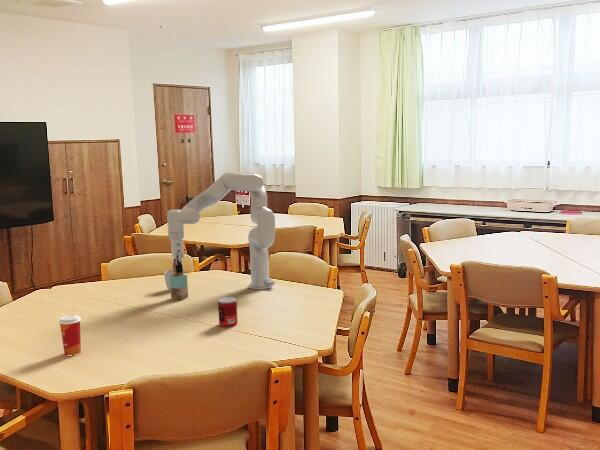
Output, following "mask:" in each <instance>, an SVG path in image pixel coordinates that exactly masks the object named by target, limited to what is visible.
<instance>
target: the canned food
mask: <svg viewBox="0 0 600 450" xmlns="http://www.w3.org/2000/svg"><path fill="white" fill-rule="evenodd" d="M217 309H218V324H219V326H220V327H222V328H232V327H236V325H238V301H237V297H234V296H226V297H221V298H219V299H218V300H217Z"/></svg>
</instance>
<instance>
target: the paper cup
mask: <svg viewBox="0 0 600 450" xmlns="http://www.w3.org/2000/svg"><path fill="white" fill-rule="evenodd" d="M81 320H82V318H81V317H80V315H78V314H72V315H65V316H62V317H60V318H59V321H58V324H59V326H60V334H61V339H62V347H63V351H64V356H65V355H75V354H78V353H80V354H81ZM78 355H79V354H78Z"/></svg>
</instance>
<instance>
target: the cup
mask: <svg viewBox="0 0 600 450" xmlns="http://www.w3.org/2000/svg"><path fill="white" fill-rule="evenodd" d="M163 273H164V274H163V275H164V280H165V286H166V288H167V290H168V292H171V288H172V287H170V275H173V269H169V270H165V271H164V272H163Z"/></svg>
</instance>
